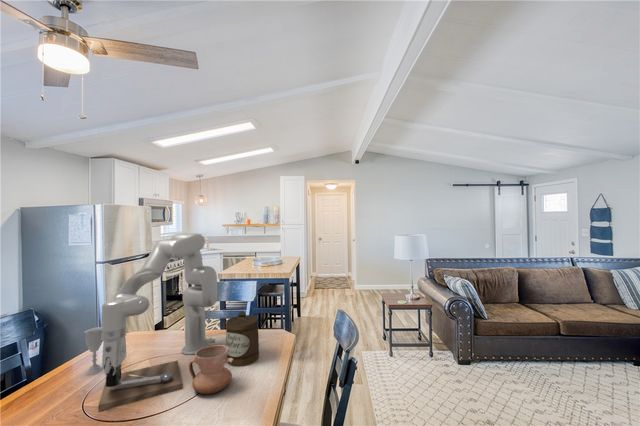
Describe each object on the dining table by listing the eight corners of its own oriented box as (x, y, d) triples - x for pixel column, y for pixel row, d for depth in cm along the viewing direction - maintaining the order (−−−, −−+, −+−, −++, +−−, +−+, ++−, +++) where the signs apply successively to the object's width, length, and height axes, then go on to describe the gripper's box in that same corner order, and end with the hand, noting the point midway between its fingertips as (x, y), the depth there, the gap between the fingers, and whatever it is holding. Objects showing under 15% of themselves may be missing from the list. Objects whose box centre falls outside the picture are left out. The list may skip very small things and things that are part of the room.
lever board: (177, 364, 132) (177, 359, 132) (181, 388, 113) (181, 382, 113) (107, 381, 119) (107, 376, 119) (98, 411, 100) (98, 404, 100)
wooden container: (219, 363, 133) (218, 314, 133) (239, 349, 147) (239, 305, 147) (246, 369, 127) (245, 318, 128) (265, 354, 141) (264, 308, 142)
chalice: (92, 376, 123) (92, 333, 124) (79, 375, 125) (79, 332, 125) (108, 368, 131) (108, 327, 131) (96, 366, 132) (96, 326, 132)
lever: (173, 375, 118) (173, 355, 118) (171, 381, 114) (171, 360, 114) (110, 386, 111) (110, 364, 112) (105, 392, 107) (105, 370, 107)
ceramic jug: (240, 378, 120) (239, 343, 120) (225, 399, 105) (224, 359, 106) (199, 377, 122) (199, 342, 123) (178, 397, 108) (178, 358, 108)
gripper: (116, 340, 103) (116, 393, 103) (132, 325, 119) (132, 370, 119) (91, 343, 101) (91, 397, 101) (111, 327, 117) (111, 373, 117)
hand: (113, 382), depth 110 cm, fingers closed on lever, 3 cm apart
